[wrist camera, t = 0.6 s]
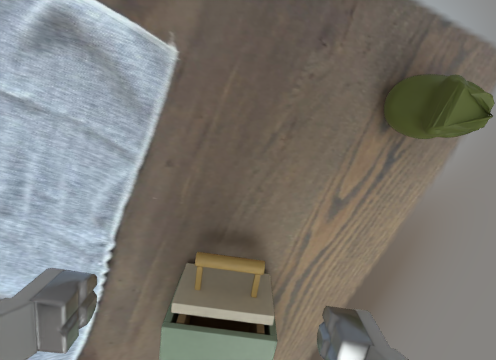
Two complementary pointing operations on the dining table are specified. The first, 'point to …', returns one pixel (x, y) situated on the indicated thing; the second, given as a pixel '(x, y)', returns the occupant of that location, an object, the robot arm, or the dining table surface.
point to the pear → (437, 106)
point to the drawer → (225, 294)
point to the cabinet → (213, 342)
